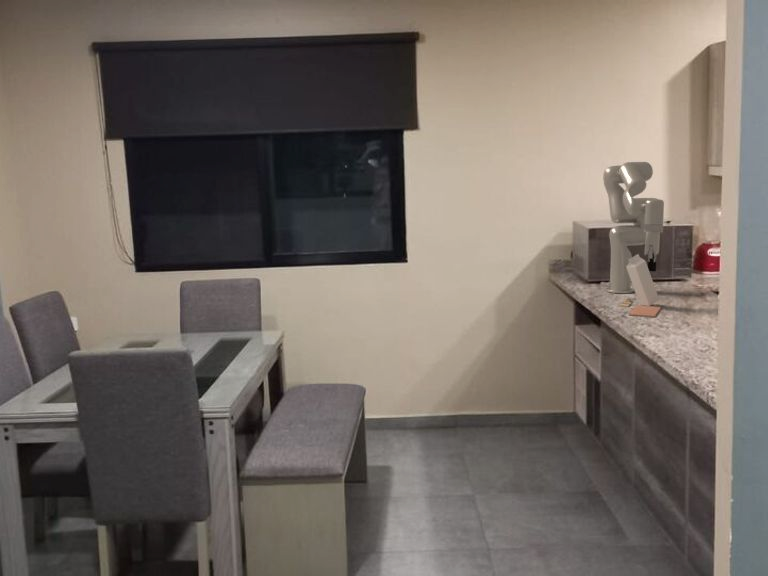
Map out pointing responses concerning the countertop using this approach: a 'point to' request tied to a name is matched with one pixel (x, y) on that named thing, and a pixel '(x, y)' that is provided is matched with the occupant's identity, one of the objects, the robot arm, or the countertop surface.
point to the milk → (642, 281)
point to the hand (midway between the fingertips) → (651, 270)
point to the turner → (626, 303)
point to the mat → (645, 311)
